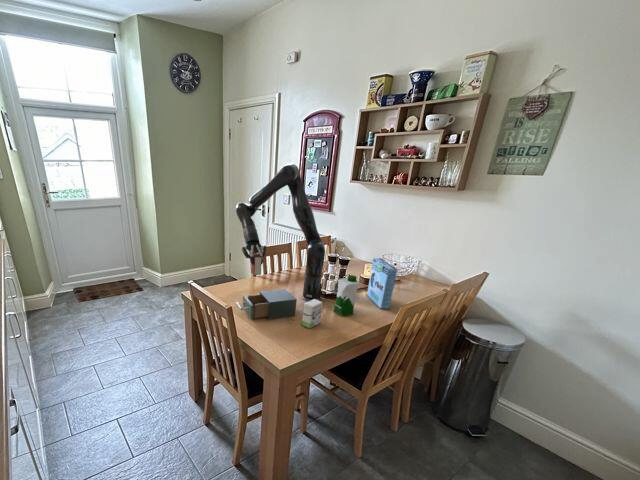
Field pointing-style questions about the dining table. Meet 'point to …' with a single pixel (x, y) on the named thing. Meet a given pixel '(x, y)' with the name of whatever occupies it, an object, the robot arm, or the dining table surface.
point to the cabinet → (280, 303)
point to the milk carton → (346, 295)
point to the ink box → (312, 313)
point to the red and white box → (256, 265)
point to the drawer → (255, 306)
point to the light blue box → (381, 283)
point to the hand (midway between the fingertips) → (257, 263)
